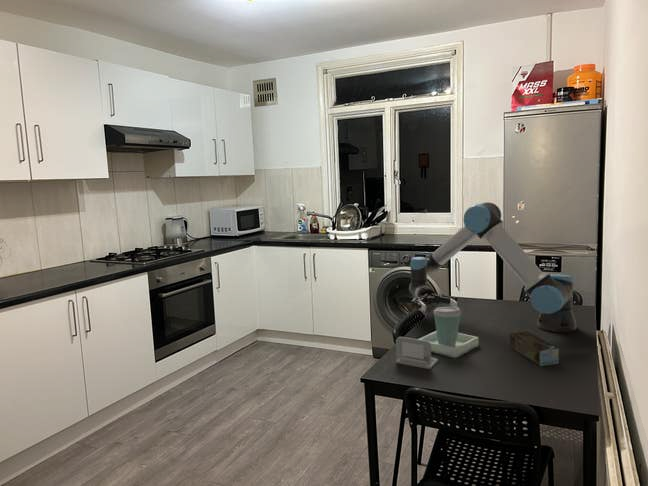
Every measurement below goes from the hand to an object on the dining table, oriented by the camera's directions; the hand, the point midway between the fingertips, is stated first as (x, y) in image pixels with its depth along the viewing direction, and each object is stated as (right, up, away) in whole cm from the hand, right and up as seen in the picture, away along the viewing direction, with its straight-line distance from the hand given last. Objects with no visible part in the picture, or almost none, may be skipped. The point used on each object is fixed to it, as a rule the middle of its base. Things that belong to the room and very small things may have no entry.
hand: (440, 306), depth 205 cm
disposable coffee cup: (0, -14, -11) cm, 17 cm away
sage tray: (0, -14, -10) cm, 18 cm away
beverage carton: (+29, -15, -23) cm, 40 cm away
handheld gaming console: (-14, -17, -24) cm, 33 cm away
